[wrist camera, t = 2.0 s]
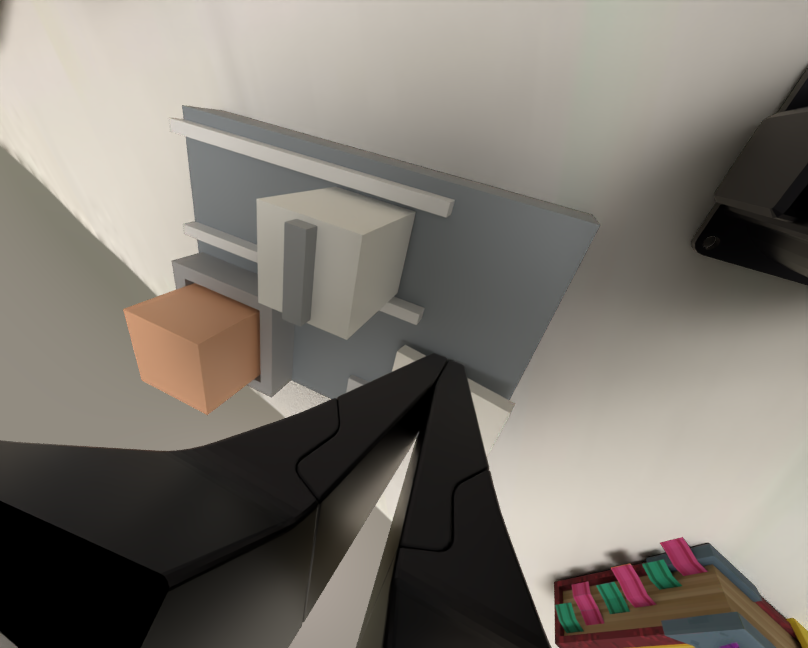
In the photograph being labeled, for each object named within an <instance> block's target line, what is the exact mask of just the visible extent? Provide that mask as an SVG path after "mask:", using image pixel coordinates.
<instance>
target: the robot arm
mask: <svg viewBox="0 0 808 648" xmlns="http://www.w3.org/2000/svg"><path fill="white" fill-rule="evenodd" d="M714 197H715V200H716V204H715V205H714V207H713V208H712V210H711V211H710V213H709V214H708V216H707V217H706V219H705V220H704V222H703V223H702V225H701V226H700V228H699V229H698V231H697V232H696V233H695V235H694V236H693V239H692V241H691V246H692V248H693V249H694V250H695V251H696V252H698V253H700V254H702V255H704V256H708V257H711V258H715V259H718V260H722V261H725V262H729V263H732V264H736V265H739V266H743V267H746V268H750V269H753V270H757V271H760V272H764V273H767V274H770V275H774V276H777V277H781V278H784V279H788V280H791V281H795V282H798V283H802V284H805V285H808V68H807V70H806V71H805V73H804V74H803V76H802V77H801V79H800V80H799V82H798V83H797V85H796V86H795V87H794V89H793V90H792V92H791V93H790V95H789V96H788V98H787V99H786V101H785V102H784V104H783V105H782V107H781V108H780V110H779V111H778V113H776V114H774V115H772V116H770V117H767V118H765V119H764V120H763V121H762V122H761V124H760V125H759V127H758V128H757V130H756V131H755V133H754V134H753V136H752V137H751V139H750V140H749V142H748V143H747V145H746V146H745V148H744V149H743V151H742V152H741V154H740V155H739V157H738V158H737V160H736V161H735V163H734V164H733V166H732V167H731V169H730V170H729V172H728V173H727V175H726V176H725V178H724V179H723V181H722V182H721V184H720V185H719V187H718V188H717V190H716V191H715V193H714ZM710 236H715V239H716V240H715V242H714V243H713V244H712V245H711V246H708V247H703V242H704V240H705V239H706V238H708V237H710ZM417 435H418V436H417ZM416 437H417V439H416ZM415 439H416V442H415V445H414V448H413V452H412V455H411V459H410V462H409V465H408V469H407V472H406V476H405V479H404V483H403V486H402V490H401V493H400V497H399V500H398V504H397V507H396V510H395V514H394V517H393V521H392V524H391V528H390V532H389V535H388V538H387V542H386V545H385V549H384V552H383V555H382V559H381V562H380V566H379V569H378V573H377V576H376V580H375V583H374V587H373V590H372V594H371V597H370V601H369V604H368V607H367V611H366V614H365V618H364V622H363V625H362V628H361V632H360V635H359V639H358V642H357V646H356V648H551V646H550V643H549V641H548V639H547V636H546V634H545V631H544V629H543V626H542V623H541V621H540V618H539V615H538V613H537V610H536V607H535V604H534V602H533V599H532V596H531V594H530V591H529V588H528V586H527V583H526V580H525V577H524V575H523V572H522V569H521V567H520V564H519V561H518V559H517V556H516V553H515V550H514V548H513V545H512V542H511V539H510V537H509V534H508V531H507V528H506V525H505V522H504V519H503V516H502V513H501V510H500V506H499V503H498V499H497V496H496V492H495V489H494V485H493V480H492V476H491V472H490V471H489V465H488V460H487V456H486V452H485V448H484V444H483V440H482V436H481V432H480V428H479V424H478V420H477V415H476V411H475V407H474V403H473V399H472V395H471V391H470V387H469V383H468V379H467V374H466V370H465V367H464V365H463V364H460V363H458V362H455V361H453V360H449V361H448V359H447V358H446V357H443V356H441V355H438V354H436V353H432V354H429V355H427V356H425V357H423V358H421V359H418V360H416V361H414V362H412V363H410V364H408V365H405V366H403V367H401V368H399V369H397V370H394V371H392V372H390V373H388V374H386V375H384V376H381V377H379V378H377V379H375V380H373V381H371V382H368V383H366V384H364V385H362V386H360V387H357V388H355V389H353V390H351V391H349V392H347V393H344V394H342V395H340V396H338V397H337V398H333V399H331V400H329V401H327V402H324V403H322V404H320V405H318V406H315V407H313V408H310V409H308V410H306V411H303V412H301V413H298V414H296V415H293V416H290V417H287V418H285V419H282V420H279V421H276V422H273V423H270V424H267V425H264V426H261V427H259V428H256V429H253V430H250V431H247V432H244V433H241V434H238V435H235V436H232V437H229V438H226V439H223V440H220V441H217V442H214V443H211V444H207V445H204V446H200V447H196V448H191V449H185V450H177V451H152V450H137V449H120V448H104V447H88V446H72V445H56V444H39V443H23V442H11V441H1V440H0V648H288V647H289V646H290V644H291V642H292V641H293V639H294V638H295V636H296V634H297V632H298V631H299V629H300V628H301V626H302V622H304V621H305V619H306V618H307V616H308V615H309V613H310V611H311V609H312V608H313V606H314V605H315V603H316V601H317V600H318V598H319V596H320V595H321V593H322V591H323V590H324V588H325V587H326V585H327V583H328V582H329V580H330V578H331V577H332V575H333V574H334V572H335V570H336V569H337V567H338V565H339V563H340V562H341V561H342V559H343V557H344V556H345V554H346V552H347V551H348V549H349V547H350V546H351V544H352V543H353V541H354V539H355V538H356V536H357V534H358V533H359V531H360V529H361V528H362V526H363V525H364V523H365V521H366V520H367V518H368V516H369V515H370V513H371V511H372V509H373V508H374V507H375V505H376V503H377V502H378V500H379V498H380V497H381V495H382V493H383V492H384V490H385V488H386V487H387V485H388V484H389V482H390V480H391V479H392V477H393V475H394V474H395V472H396V470H397V469H398V467H399V466H400V464H401V462H402V461H403V459H404V457H405V456H406V454H407V452H408V451H409V449H410V448H411V446H412V444H413V442H414V441H415Z"/></svg>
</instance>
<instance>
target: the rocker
mask: <svg viewBox="0 0 808 648" xmlns="http://www.w3.org/2000/svg"><path fill="white" fill-rule="evenodd" d="M425 356H426V355H424V354H422V353H420V352H418V351H416V350H414V349H412V348H411V347H409V346H407V345H404V346H403V347H402V348H400V349H399V350H398V351H397V354H396V358H395V361H394V365H393V369H392V371H394V370H397V369H399V368H401V367H403V366H405V365H408V364H410V363H412V362H414V361H416V360H418V359H421V358H423V357H425ZM467 379H468V378H467ZM468 383H469V387H470V391H471V395H472V399H473V403H474V407H475V411H476V415H477V420H478V424H479V428H480V432H481V436H482V440H483V444H484V448H485V452H486V456H488V455H489V453H490V451H491V449H492V447H493V445H494V443H495V442H496V440H497V438H498V436H499V434H500V432H501V430H502V429H503V427H504V425H505V423H506V421H507V419H508V417H509V416H510V414H511V412H512V409H513V407H514V405H515V403H513V402H511V401H509V400H507V399H506V398H504V397H502V396H500V395H498V394H496V393H494V392H493V391H491V390H489V389H487V388H485V387H483V386H481V385H480V384H478V383H476V382H474V381H472V380H470V379H468Z"/></svg>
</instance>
